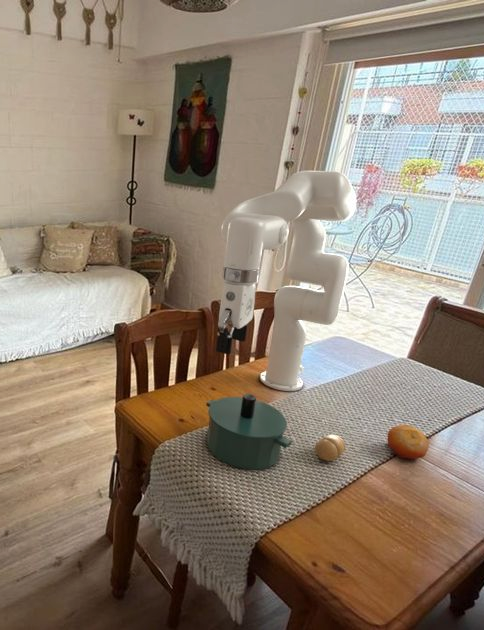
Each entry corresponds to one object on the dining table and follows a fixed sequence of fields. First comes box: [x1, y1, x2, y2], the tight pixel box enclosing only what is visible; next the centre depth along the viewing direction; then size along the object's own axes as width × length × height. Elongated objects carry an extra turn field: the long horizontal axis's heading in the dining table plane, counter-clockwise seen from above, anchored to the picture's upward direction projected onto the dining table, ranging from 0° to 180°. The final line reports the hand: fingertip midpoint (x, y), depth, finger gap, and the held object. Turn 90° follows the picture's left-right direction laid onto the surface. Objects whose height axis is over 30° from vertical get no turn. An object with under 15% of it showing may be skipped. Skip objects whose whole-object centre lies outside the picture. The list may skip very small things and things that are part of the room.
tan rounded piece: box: [314, 434, 346, 462], centre depth 104 cm, size 8×5×5 cm, turn 126°
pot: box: [205, 399, 293, 471], centre depth 106 cm, size 17×22×8 cm
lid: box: [208, 393, 288, 439], centre depth 104 cm, size 18×18×6 cm
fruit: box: [386, 424, 430, 460], centre depth 105 cm, size 8×8×8 cm
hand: (231, 346), depth 102 cm, fingers open, 9 cm apart
